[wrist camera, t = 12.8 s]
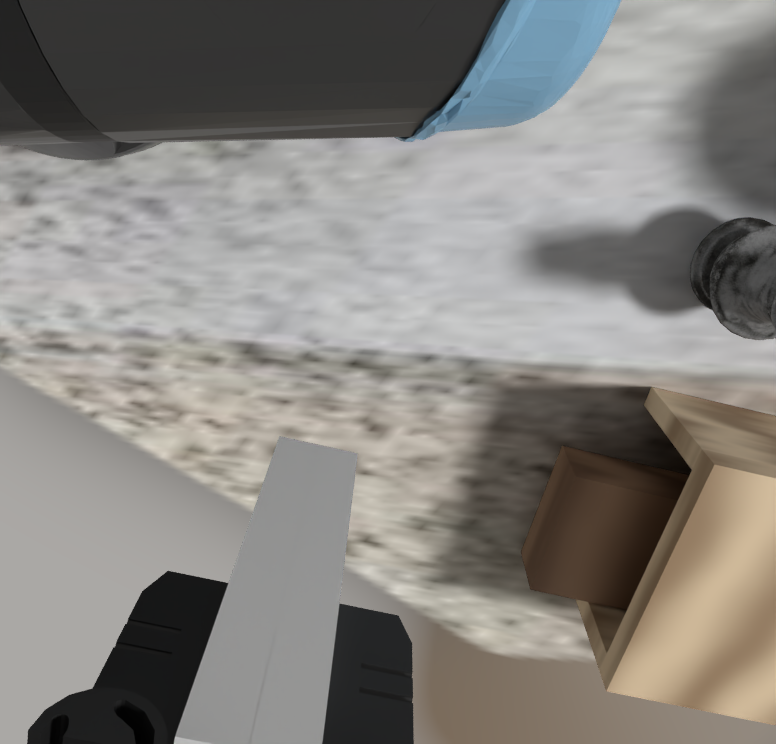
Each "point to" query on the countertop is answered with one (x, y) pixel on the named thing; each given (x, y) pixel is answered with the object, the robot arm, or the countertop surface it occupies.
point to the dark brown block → (598, 527)
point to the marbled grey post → (739, 276)
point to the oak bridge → (704, 573)
